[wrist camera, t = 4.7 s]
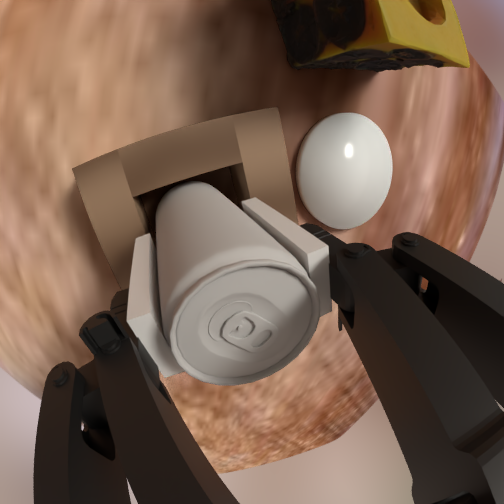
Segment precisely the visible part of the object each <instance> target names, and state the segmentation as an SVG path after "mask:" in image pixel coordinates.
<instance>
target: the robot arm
mask: <svg viewBox="0 0 504 504" xmlns="http://www.w3.org/2000/svg"><path fill="white" fill-rule="evenodd" d="M242 206H243V210H244V213H245V214H246V215H248V216H249V217H250V218H251V219H252V220H253V221H254V222H256V223H257V224H258V225H259V226H260V227H261V228H262V229H264V230H265V231H266V232H267V233H268V234H269V235H270V236H272V237H273V238H274V239H275V240H276V241H277V242H278V243H279V244H281V245H282V246H283V247H284V248H285V249H286V250H287V251H288V252H290V253H291V254H292V255H293V256H294V257H295V258H296V259H297V261H298V262H299V263H300V264H301V266H302V267H303V268H304V269H305V271H306V272H307V274H308V277H309V279H310V280H311V281H312V282H313V284H314V285H315V286H316V289H317V292H318V295H319V298H320V317H321V316H323V315H325V314H327V313H329V312H331V311H332V299H333V300H334V301H335V302H336V303H337V304H338V328H339V331H341V330H342V324H343V325H344V327H345V329H346V331H347V333H348V335H349V337H350V339H351V341H352V343H353V345H354V347H355V349H356V351H357V353H358V355H359V357H360V359H361V361H362V363H363V365H364V367H365V369H366V371H367V373H368V376H369V378H370V380H371V382H372V384H373V386H374V388H375V390H376V393H377V395H378V397H379V399H380V401H381V403H382V406H383V408H384V410H385V412H386V415H387V417H388V419H389V422H390V424H391V426H392V429H393V431H394V433H395V436H396V438H397V440H398V443H399V445H400V447H401V450H402V452H403V455H404V457H405V460H406V462H407V465H408V467H409V470H410V473H411V475H412V479H413V485H412V497H413V500H414V503H415V504H504V412H503V411H502V410H501V409H500V407H499V406H498V404H497V403H496V401H497V402H498V403H499V404H500V405H501V406H502V407H503V408H504V284H503V283H502V282H500V281H499V280H497V279H496V278H494V277H493V276H491V275H489V274H488V273H486V272H485V271H483V270H481V269H479V268H478V267H476V266H475V265H473V264H471V263H470V262H468V261H466V260H465V259H463V258H461V257H459V256H458V255H456V254H454V253H452V252H450V251H449V250H447V249H445V248H443V247H441V246H440V245H438V244H436V243H434V242H432V241H430V240H428V239H426V238H424V237H422V236H420V235H418V234H415V233H410V232H404V233H401V234H397V235H396V236H394V237H393V240H392V248H390V249H385V250H380V251H375V250H374V248H372V247H371V246H369V245H367V244H363V243H350V244H346V243H344V242H343V241H341V240H340V239H338V238H336V237H335V236H333V235H332V234H331V235H330V233H328V232H327V231H324V229H322V228H320V227H319V226H317V225H313V224H308V223H306V224H303V225H300V226H299V225H297V224H296V223H294V222H293V221H291V220H290V219H288V218H287V217H285V216H284V215H282V214H280V213H279V212H277V211H276V210H274V209H273V208H271V207H270V206H268V205H267V204H265V203H263V202H262V201H260V200H259V199H257V198H256V197H255V198H251V199H248V200H245V201H242ZM422 277H424V278H425V279H427V280H428V287H427V290H424V289H422V288H421V283H422ZM110 309H111V310H110V311H102V312H99V313H97V314H95V315H93V316H92V317H90V318H89V319H88V320H87V321H86V322H85V323H84V324H83V326H82V327H81V329H80V332H79V336H80V337H81V339H82V340H83V342H84V343H85V344H86V346H87V347H88V348H89V349H90V351H91V352H92V353H93V355H94V360H92V361H91V362H89V363H88V364H86V365H84V366H82V367H81V368H79V369H77V368H76V367H75V366H74V365H73V363H70V362H62V363H60V364H58V365H56V366H55V367H54V368H53V369H52V370H51V371H50V373H49V374H48V376H47V379H46V382H45V387H44V391H43V396H42V401H41V407H40V413H39V420H38V427H37V435H36V444H35V457H34V504H131V501H130V495H129V490H128V484H127V479H128V482H129V484H130V486H131V489H132V491H133V493H134V496H135V498H136V500H137V502H138V504H240V503H239V502H238V501H237V500H236V498H235V497H234V496H233V495H232V493H231V492H230V491H229V489H228V488H227V487H226V485H225V484H224V483H223V481H222V480H221V478H220V477H219V476H218V474H217V473H216V471H215V470H214V468H213V467H212V466H211V464H210V463H209V461H208V460H207V458H206V457H205V455H204V454H203V452H202V450H201V449H200V447H199V446H198V444H197V442H196V441H195V439H194V438H193V436H192V434H191V433H190V431H189V429H188V428H187V426H186V424H185V422H184V421H183V419H182V417H181V415H180V413H179V412H178V410H177V408H176V406H175V404H174V402H173V400H172V399H171V397H170V395H169V393H168V391H167V389H166V387H165V386H164V384H163V383H162V382H161V380H160V378H159V370H160V372H161V373H162V375H163V376H164V377H165V378H166V377H169V376H172V375H175V374H178V373H182V372H185V371H184V370H183V369H182V368H181V367H180V366H179V365H178V364H177V362H176V360H175V358H174V356H173V354H172V352H171V349H170V346H169V344H168V342H167V340H166V338H165V336H164V332H163V324H162V315H161V305H160V294H159V281H158V266H157V250H156V248H155V245H154V243H153V240H152V238H151V235H150V233H149V234H146V235H143V236H141V237H138V238H136V240H135V247H134V254H133V261H132V269H131V277H130V286H129V288H127V289H124V290H122V291H119V292H117V293H116V295H115V296H114V298H113V299H112V301H111V307H110ZM158 369H159V370H158ZM495 400H496V401H495ZM82 422H83V423H84V429H83V431H82V430H81V423H82Z"/></svg>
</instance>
